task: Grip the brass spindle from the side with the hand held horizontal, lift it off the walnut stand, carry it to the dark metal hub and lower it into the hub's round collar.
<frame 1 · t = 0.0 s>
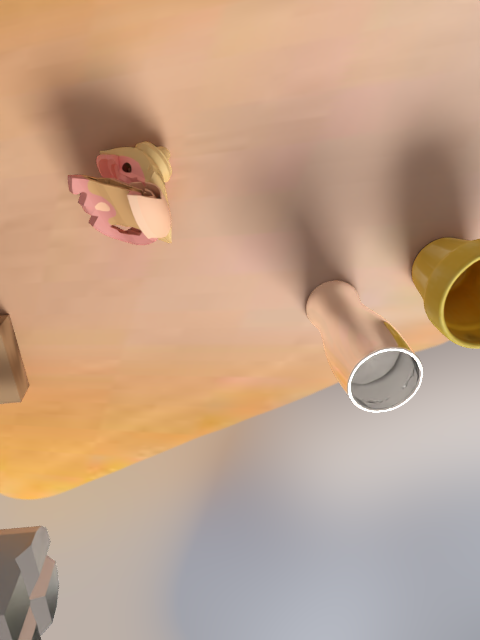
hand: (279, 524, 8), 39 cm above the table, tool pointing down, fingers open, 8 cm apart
plant pot: (438, 264, 50), on the table
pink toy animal: (137, 194, 43), on the table
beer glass: (331, 304, 51), on the table
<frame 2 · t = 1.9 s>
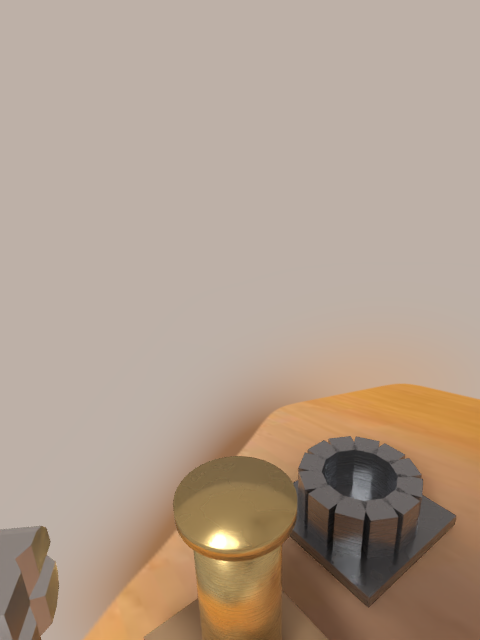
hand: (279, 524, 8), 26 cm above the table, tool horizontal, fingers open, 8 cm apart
hub: (355, 517, 41), on the table
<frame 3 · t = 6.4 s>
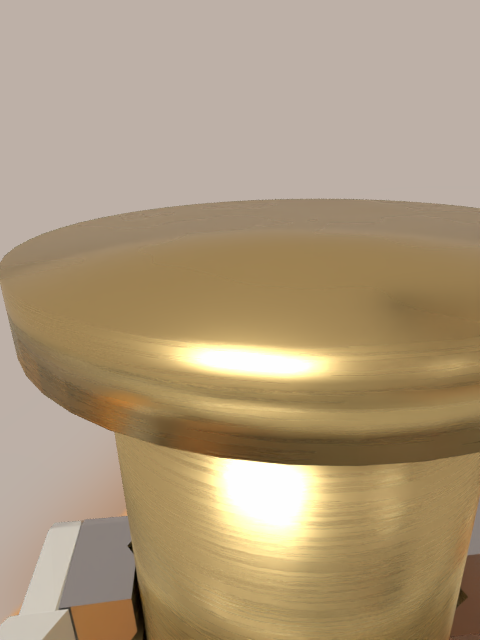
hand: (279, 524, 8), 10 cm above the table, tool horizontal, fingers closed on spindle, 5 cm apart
when the fingers open (9 cm above the table, at t = 12.0 s): spindle drops 2 cm, resting on hub.
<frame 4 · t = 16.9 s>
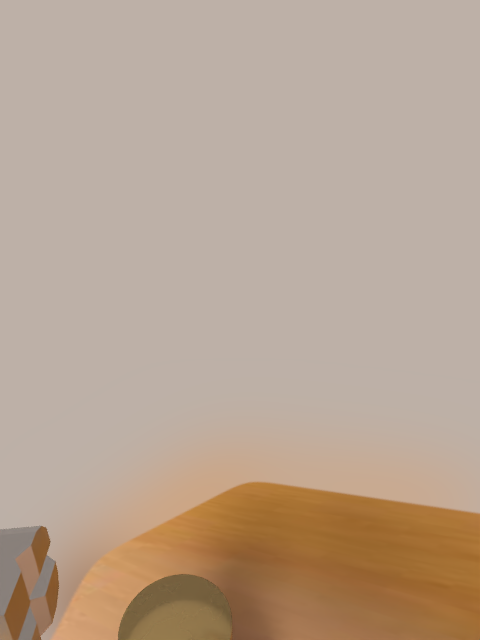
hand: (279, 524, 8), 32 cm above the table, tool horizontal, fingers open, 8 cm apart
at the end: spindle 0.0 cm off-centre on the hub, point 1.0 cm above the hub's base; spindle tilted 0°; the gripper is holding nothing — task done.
